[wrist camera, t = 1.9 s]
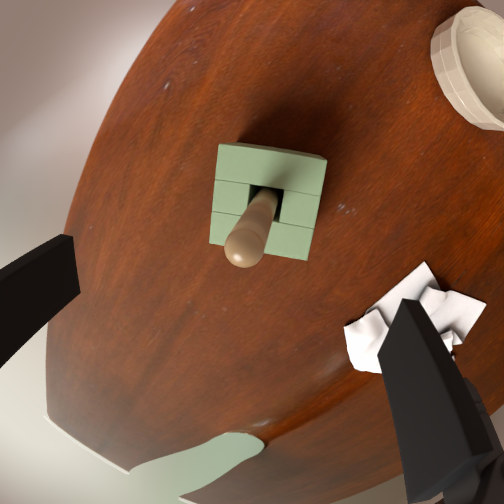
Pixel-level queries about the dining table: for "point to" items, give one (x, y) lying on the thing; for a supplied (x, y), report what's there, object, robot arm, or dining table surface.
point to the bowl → (472, 65)
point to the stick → (252, 229)
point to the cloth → (435, 304)
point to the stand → (276, 176)
